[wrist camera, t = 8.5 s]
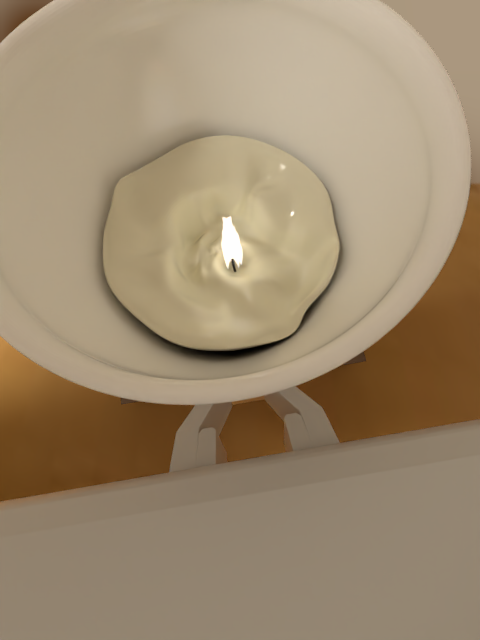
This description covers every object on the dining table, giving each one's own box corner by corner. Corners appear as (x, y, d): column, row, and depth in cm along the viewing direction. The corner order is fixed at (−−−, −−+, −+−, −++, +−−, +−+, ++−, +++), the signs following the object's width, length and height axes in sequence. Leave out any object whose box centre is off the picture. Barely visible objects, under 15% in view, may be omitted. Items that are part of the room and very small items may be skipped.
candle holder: (314, 290, 15) (573, 75, 3) (244, 384, 14) (245, 587, 2) (225, 227, 16) (173, -100, 4) (153, 310, 15) (-178, 170, 3)
